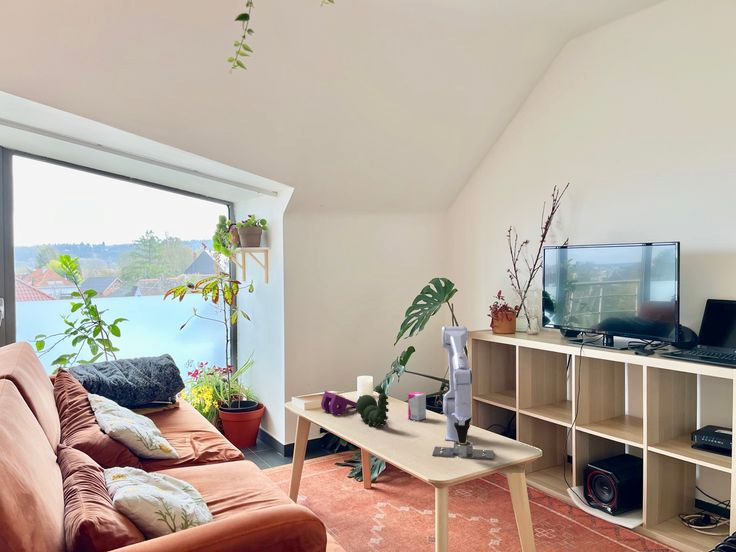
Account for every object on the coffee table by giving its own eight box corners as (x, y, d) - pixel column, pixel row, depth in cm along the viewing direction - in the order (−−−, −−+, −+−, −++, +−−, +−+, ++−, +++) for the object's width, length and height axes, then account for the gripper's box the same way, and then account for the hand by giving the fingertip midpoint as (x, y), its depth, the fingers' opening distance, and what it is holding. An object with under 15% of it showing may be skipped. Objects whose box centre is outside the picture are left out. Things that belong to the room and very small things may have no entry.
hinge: (432, 455, 204) (432, 444, 204) (435, 448, 212) (434, 438, 212) (493, 460, 199) (493, 448, 199) (493, 452, 207) (493, 441, 207)
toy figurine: (393, 432, 238) (368, 412, 260) (395, 388, 236) (369, 372, 258) (373, 435, 234) (349, 415, 256) (374, 391, 232) (350, 374, 254)
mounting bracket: (347, 419, 274) (318, 408, 264) (353, 402, 276) (325, 391, 266) (358, 423, 266) (329, 412, 256) (365, 406, 268) (336, 394, 258)
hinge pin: (459, 452, 208) (458, 430, 207) (467, 453, 207) (467, 431, 206) (457, 455, 205) (457, 433, 205) (466, 455, 204) (465, 433, 204)
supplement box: (426, 419, 251) (426, 393, 251) (418, 421, 247) (417, 395, 246) (416, 416, 255) (415, 391, 255) (407, 419, 251) (407, 393, 250)
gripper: (453, 396, 213) (453, 432, 214) (449, 406, 199) (450, 445, 199) (472, 397, 211) (472, 433, 212) (470, 407, 197) (470, 446, 198)
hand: (463, 439), depth 206 cm, fingers open, 7 cm apart
